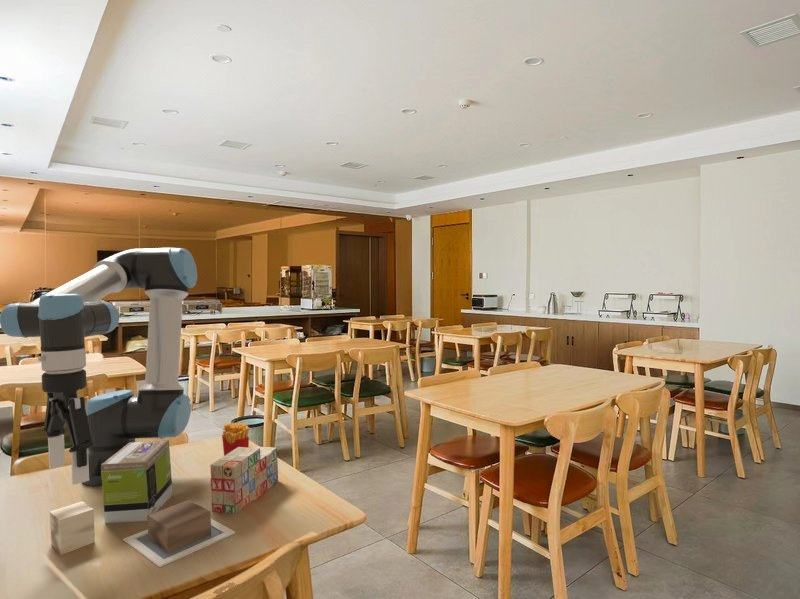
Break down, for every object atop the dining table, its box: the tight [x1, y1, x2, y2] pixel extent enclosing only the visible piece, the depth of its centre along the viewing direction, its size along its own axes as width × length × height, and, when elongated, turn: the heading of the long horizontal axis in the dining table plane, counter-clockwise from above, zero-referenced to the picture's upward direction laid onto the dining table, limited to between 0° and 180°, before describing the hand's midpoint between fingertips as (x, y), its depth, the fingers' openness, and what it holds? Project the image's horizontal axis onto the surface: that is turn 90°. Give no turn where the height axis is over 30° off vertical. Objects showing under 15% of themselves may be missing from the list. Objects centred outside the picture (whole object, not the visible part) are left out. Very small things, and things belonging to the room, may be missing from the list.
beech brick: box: [49, 501, 96, 555], centre depth 105 cm, size 6×6×8 cm
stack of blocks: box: [210, 446, 279, 514], centre depth 128 cm, size 21×6×12 cm, turn 167°
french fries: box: [221, 422, 250, 457], centre depth 146 cm, size 9×4×13 cm, turn 60°
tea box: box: [101, 439, 174, 524], centre depth 121 cm, size 15×10×15 cm
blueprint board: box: [123, 518, 236, 569], centre depth 107 cm, size 16×16×1 cm
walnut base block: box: [147, 499, 212, 553], centre depth 107 cm, size 9×9×5 cm
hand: (68, 474), depth 104 cm, fingers open, 13 cm apart
